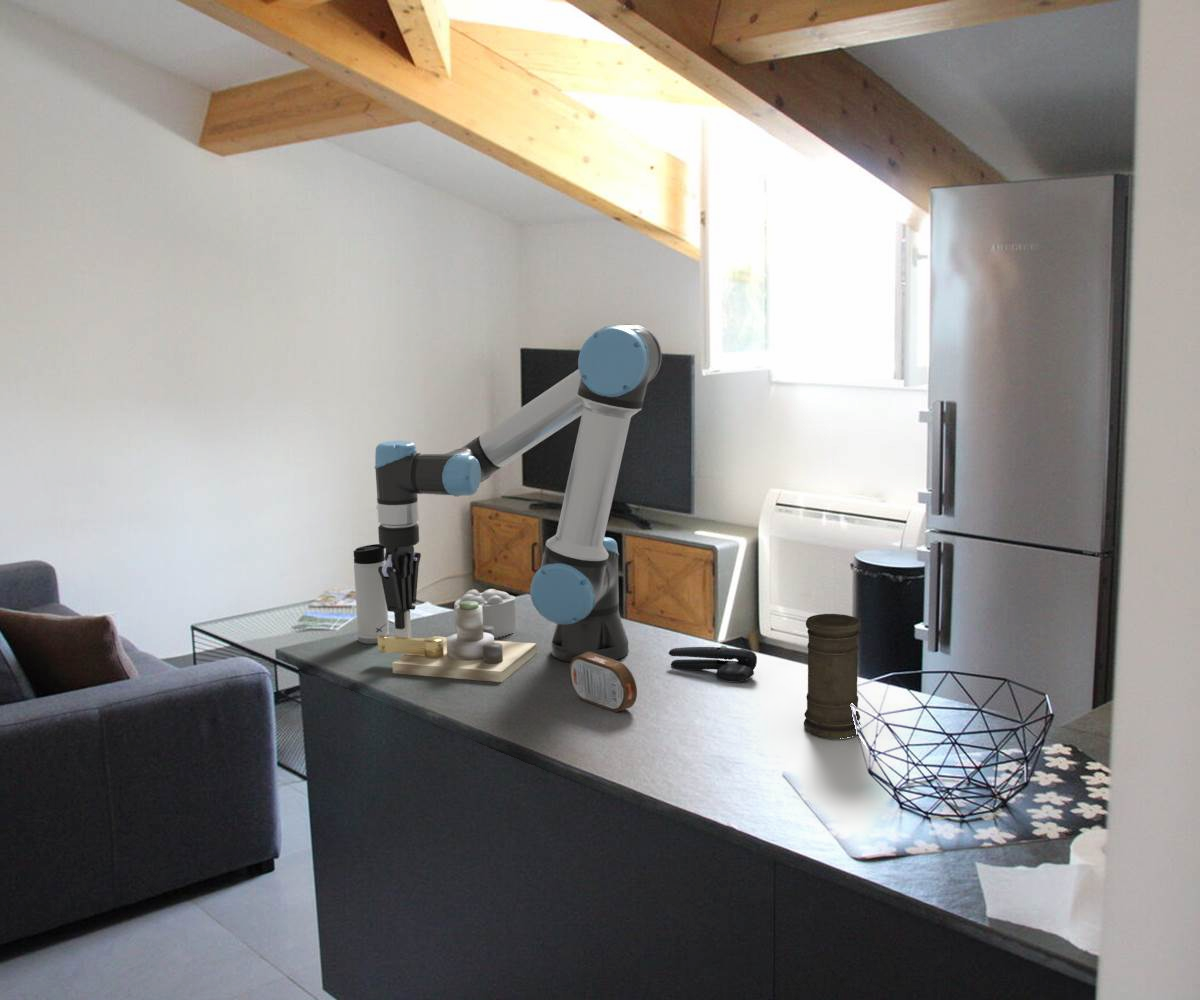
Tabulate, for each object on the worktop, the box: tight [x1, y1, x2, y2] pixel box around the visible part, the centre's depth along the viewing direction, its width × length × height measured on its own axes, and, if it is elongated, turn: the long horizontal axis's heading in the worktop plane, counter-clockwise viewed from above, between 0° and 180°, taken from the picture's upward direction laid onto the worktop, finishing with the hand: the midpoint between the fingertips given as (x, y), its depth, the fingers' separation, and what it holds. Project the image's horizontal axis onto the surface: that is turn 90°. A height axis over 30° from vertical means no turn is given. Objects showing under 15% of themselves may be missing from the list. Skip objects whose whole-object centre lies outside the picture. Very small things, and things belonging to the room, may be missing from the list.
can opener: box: [668, 645, 758, 683], centre depth 214 cm, size 18×7×6 cm, turn 57°
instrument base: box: [391, 601, 538, 683], centre depth 222 cm, size 22×18×12 cm
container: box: [803, 613, 862, 740], centre depth 183 cm, size 9×9×18 cm
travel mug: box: [353, 543, 390, 645], centre depth 238 cm, size 6×7×20 cm
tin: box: [569, 652, 638, 713], centre depth 198 cm, size 15×3×8 cm, turn 41°
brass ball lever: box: [377, 635, 444, 658], centre depth 222 cm, size 13×4×3 cm, turn 75°
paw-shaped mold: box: [453, 588, 518, 639], centre depth 242 cm, size 10×13×9 cm
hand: (403, 643), depth 224 cm, fingers closed
